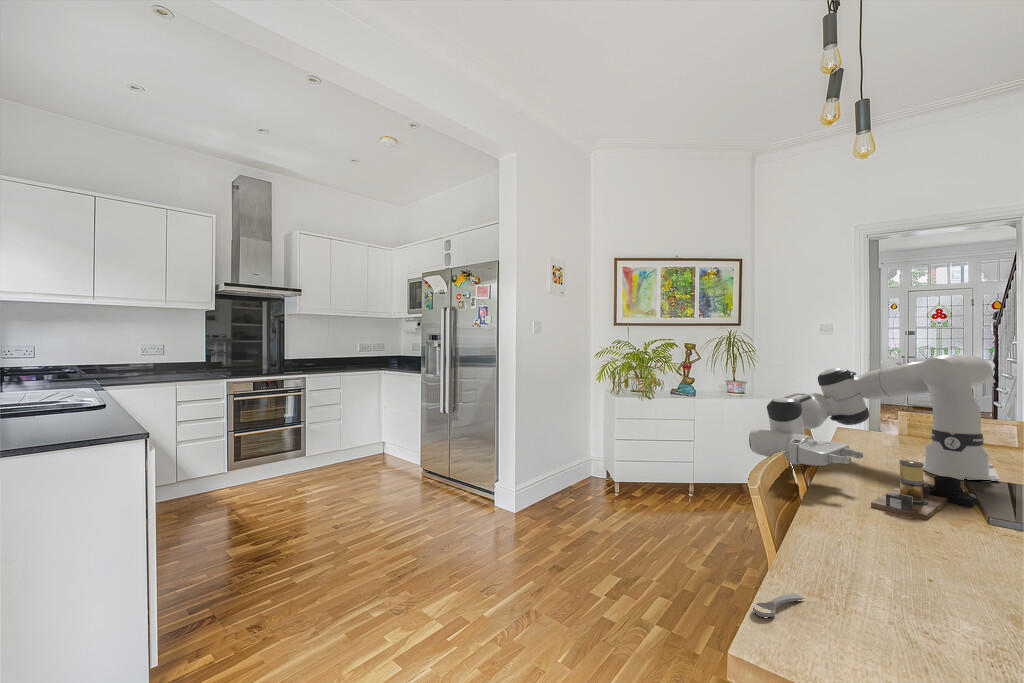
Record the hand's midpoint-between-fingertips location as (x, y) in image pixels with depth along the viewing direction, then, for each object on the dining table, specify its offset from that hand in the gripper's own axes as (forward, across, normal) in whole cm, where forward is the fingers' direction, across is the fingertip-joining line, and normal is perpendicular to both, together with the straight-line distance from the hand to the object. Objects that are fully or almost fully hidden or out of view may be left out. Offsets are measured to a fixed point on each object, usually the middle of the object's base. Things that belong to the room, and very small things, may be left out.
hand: (856, 458), depth 129 cm
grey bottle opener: (+13, +77, -10) cm, 78 cm away
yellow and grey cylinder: (+12, 0, -9) cm, 15 cm away
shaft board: (+12, 0, -10) cm, 15 cm away
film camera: (+16, -14, -11) cm, 23 cm away
